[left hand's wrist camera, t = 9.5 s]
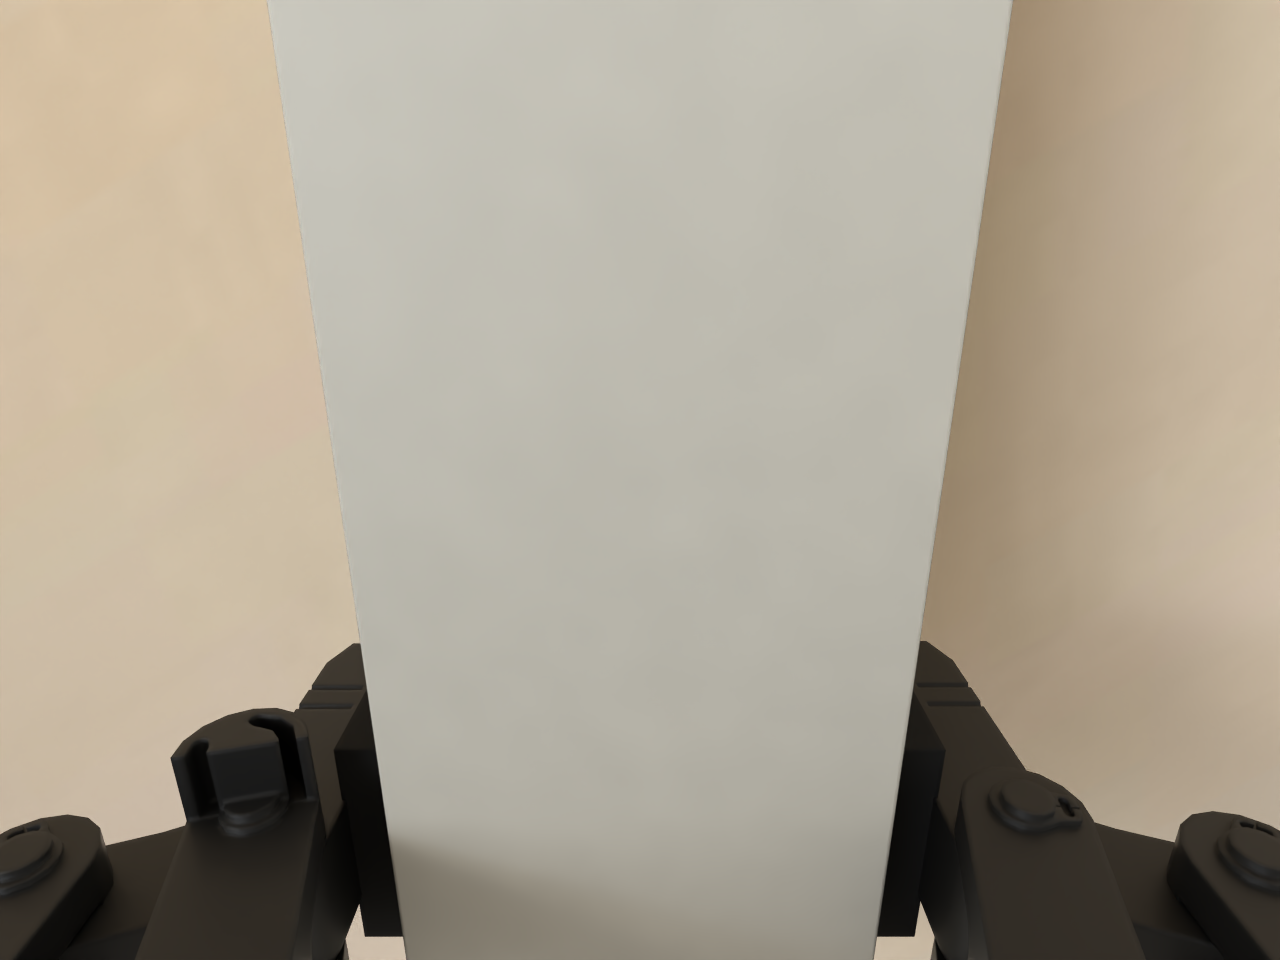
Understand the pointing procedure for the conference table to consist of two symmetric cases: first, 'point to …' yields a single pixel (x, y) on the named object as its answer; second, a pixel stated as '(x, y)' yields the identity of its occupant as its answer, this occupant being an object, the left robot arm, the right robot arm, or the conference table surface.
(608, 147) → the bar
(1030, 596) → the conference table surface
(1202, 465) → the conference table surface
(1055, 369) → the conference table surface
